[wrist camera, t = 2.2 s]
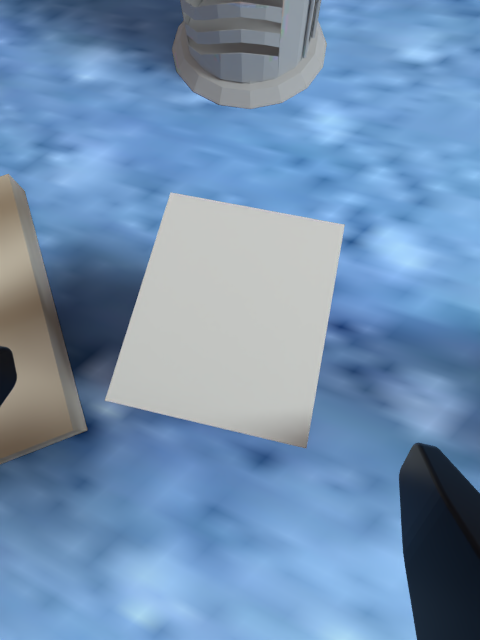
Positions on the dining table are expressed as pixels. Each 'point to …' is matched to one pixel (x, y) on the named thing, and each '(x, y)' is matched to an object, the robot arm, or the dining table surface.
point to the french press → (249, 49)
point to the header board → (31, 339)
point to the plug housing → (231, 319)
